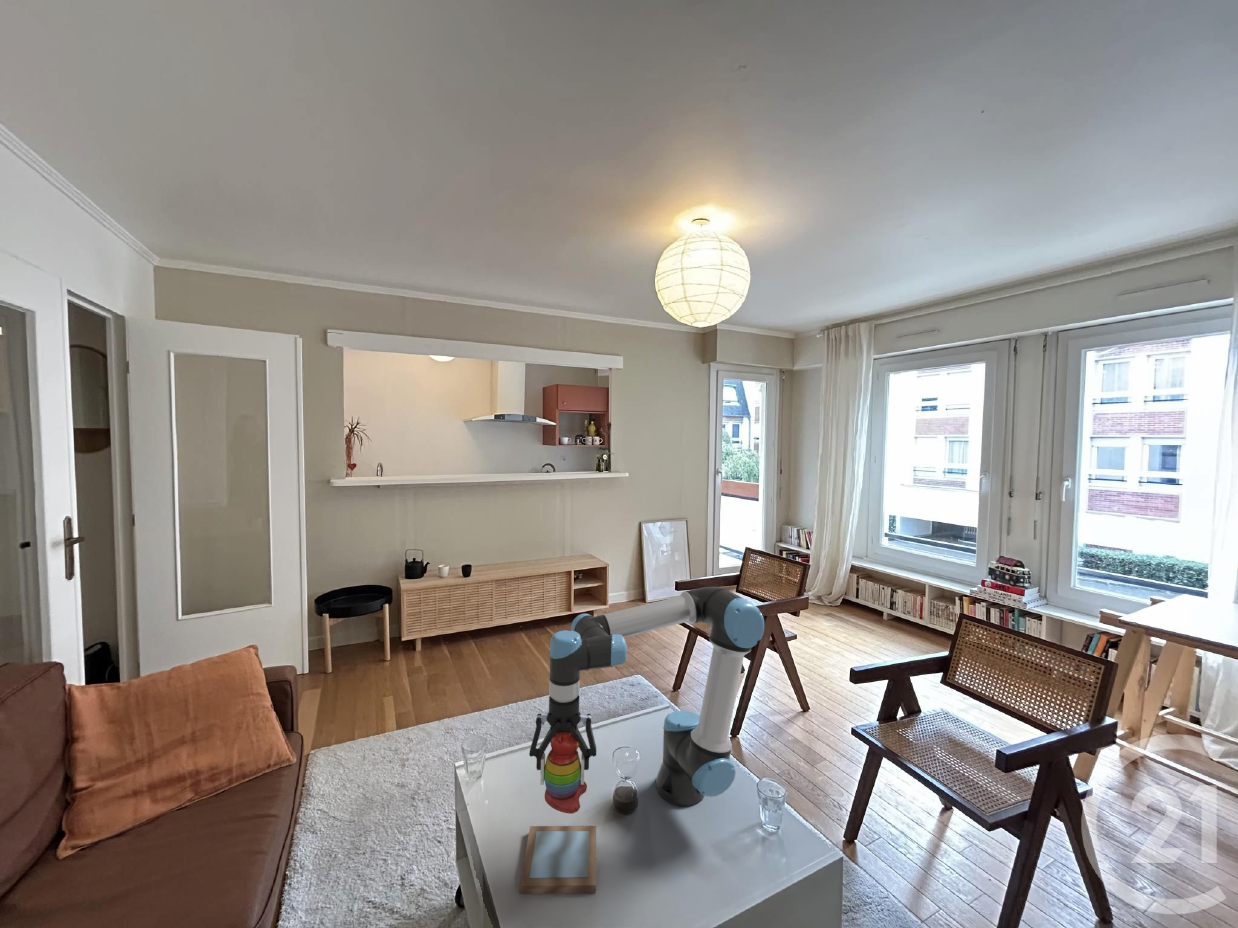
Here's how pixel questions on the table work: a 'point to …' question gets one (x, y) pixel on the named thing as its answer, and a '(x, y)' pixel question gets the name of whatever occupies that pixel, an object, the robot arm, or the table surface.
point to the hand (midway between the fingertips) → (562, 780)
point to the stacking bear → (563, 774)
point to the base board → (560, 860)
